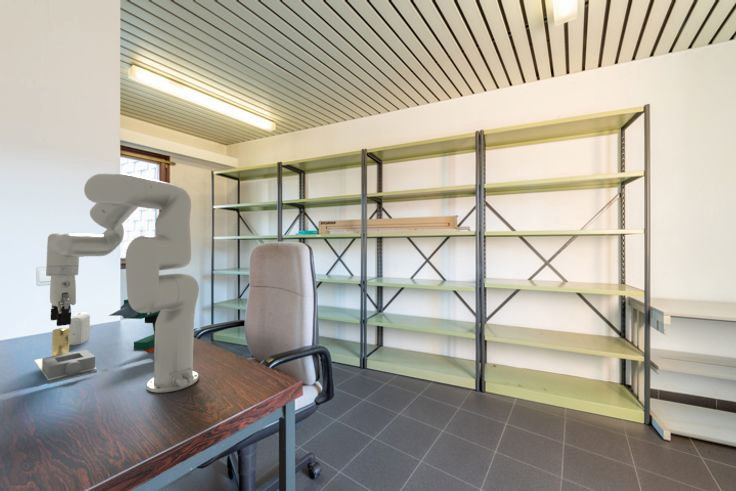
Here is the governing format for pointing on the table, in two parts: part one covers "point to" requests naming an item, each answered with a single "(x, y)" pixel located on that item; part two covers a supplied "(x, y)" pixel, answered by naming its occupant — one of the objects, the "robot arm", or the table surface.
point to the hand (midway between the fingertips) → (60, 322)
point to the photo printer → (79, 328)
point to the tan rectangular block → (60, 341)
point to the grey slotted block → (67, 365)
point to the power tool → (151, 317)
